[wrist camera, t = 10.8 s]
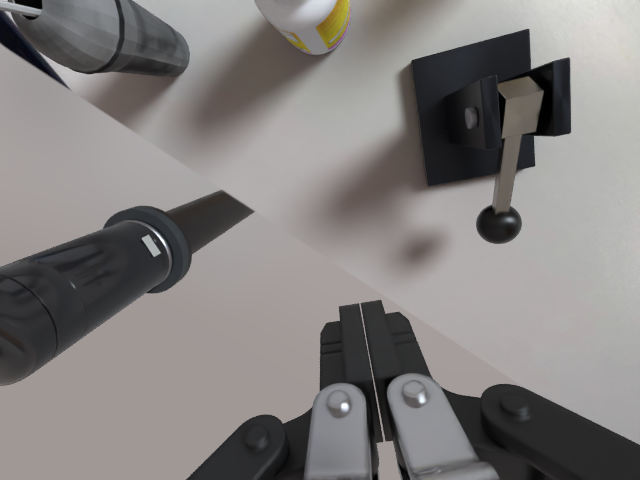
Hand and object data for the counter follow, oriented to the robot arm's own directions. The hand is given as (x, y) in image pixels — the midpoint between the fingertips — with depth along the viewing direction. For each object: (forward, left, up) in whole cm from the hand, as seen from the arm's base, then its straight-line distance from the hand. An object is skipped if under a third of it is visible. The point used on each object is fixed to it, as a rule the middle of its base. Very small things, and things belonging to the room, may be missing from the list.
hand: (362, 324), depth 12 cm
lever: (+11, +2, -20) cm, 23 cm away
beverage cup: (-18, +19, -27) cm, 37 cm away
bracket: (+11, +6, -26) cm, 29 cm away
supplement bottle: (-2, +18, -27) cm, 32 cm away
